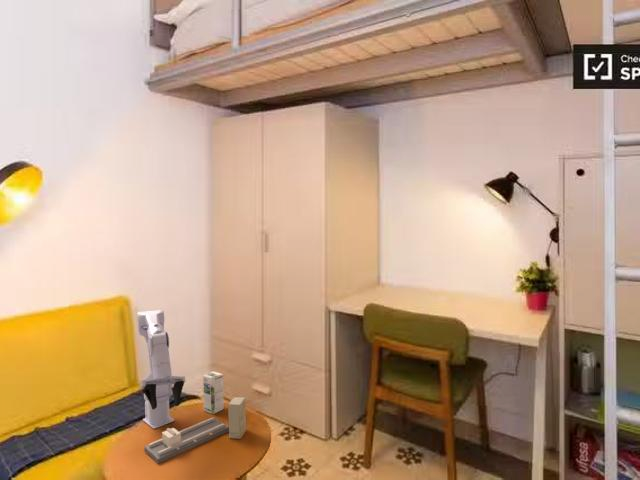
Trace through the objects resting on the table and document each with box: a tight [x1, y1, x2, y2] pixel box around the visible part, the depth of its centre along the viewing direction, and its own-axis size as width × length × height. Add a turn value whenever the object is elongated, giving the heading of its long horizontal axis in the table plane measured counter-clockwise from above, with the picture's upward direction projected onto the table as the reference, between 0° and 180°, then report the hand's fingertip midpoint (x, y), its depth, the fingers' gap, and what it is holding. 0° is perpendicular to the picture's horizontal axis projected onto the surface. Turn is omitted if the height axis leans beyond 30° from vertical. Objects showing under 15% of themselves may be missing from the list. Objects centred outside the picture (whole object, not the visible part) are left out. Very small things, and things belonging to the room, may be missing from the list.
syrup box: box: [202, 370, 225, 415], centre depth 163 cm, size 6×6×14 cm
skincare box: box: [227, 396, 247, 439], centre depth 145 cm, size 6×4×12 cm
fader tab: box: [161, 427, 181, 447], centre depth 137 cm, size 5×4×4 cm
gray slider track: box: [143, 416, 229, 464], centre depth 142 cm, size 10×26×2 cm, turn 136°
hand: (166, 406), depth 134 cm, fingers open, 7 cm apart
